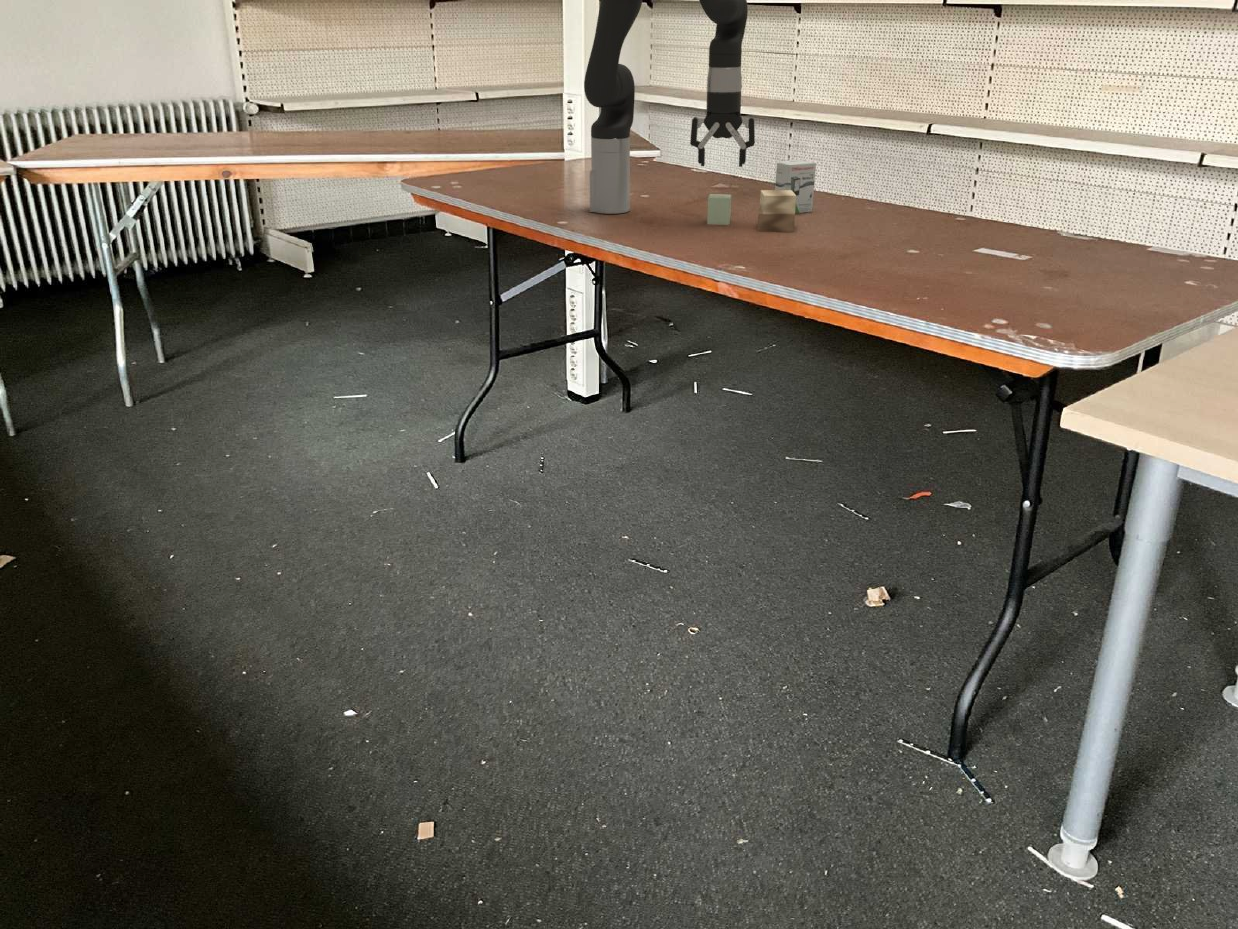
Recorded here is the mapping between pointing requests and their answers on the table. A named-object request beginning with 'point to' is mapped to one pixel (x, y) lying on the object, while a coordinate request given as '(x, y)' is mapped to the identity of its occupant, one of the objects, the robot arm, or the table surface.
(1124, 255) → the table surface
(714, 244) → the table surface
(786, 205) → the tower top
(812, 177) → the ink box
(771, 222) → the tower base
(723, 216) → the sage block
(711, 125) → the robot arm
